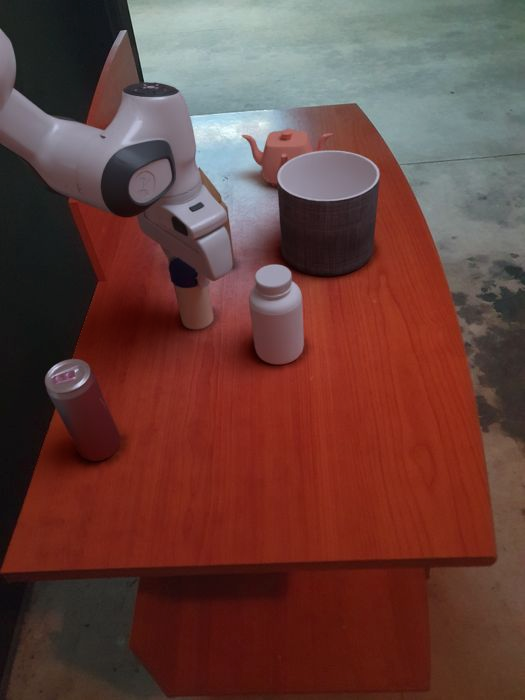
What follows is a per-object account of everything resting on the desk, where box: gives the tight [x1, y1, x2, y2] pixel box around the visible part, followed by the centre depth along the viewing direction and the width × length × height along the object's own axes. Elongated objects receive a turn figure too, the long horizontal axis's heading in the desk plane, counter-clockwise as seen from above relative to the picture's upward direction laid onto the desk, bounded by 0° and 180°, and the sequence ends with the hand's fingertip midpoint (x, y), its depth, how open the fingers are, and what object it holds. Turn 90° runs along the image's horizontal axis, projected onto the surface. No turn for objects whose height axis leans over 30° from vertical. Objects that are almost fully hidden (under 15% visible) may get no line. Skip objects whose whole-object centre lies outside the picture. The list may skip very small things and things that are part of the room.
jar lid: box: [168, 257, 198, 288], centre depth 92 cm, size 6×6×2 cm
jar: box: [172, 283, 215, 330], centre depth 95 cm, size 6×6×11 cm
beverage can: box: [44, 358, 121, 462], centre depth 76 cm, size 6×6×15 cm
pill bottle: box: [248, 264, 305, 366], centre depth 87 cm, size 8×8×15 cm
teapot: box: [241, 127, 334, 187], centre depth 127 cm, size 14×14×11 cm
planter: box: [277, 149, 381, 277], centre depth 105 cm, size 18×18×16 cm
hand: (189, 275), depth 92 cm, fingers closed on jar lid, 6 cm apart
